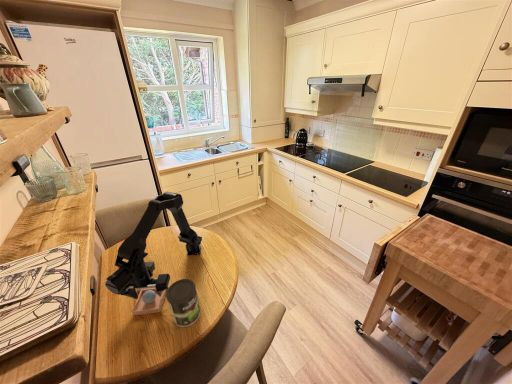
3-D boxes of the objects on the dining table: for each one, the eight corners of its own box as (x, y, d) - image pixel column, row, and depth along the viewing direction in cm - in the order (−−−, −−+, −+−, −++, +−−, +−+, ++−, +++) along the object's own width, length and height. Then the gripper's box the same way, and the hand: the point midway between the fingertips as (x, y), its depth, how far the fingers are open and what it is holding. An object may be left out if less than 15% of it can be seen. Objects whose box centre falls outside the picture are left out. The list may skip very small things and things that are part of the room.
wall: (168, 286, 95) (167, 282, 94) (168, 287, 94) (166, 283, 93) (138, 289, 94) (136, 285, 93) (137, 290, 93) (136, 286, 92)
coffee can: (206, 309, 85) (201, 286, 78) (186, 332, 78) (179, 309, 71) (188, 297, 90) (182, 274, 83) (168, 317, 82) (159, 294, 76)
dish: (166, 289, 93) (165, 286, 92) (160, 312, 84) (158, 308, 83) (142, 292, 92) (141, 289, 91) (133, 315, 84) (131, 311, 83)
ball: (158, 294, 91) (155, 287, 88) (155, 305, 86) (152, 298, 84) (146, 295, 90) (143, 288, 88) (142, 307, 86) (138, 299, 83)
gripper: (169, 252, 87) (176, 278, 95) (121, 257, 86) (133, 282, 93) (162, 274, 78) (170, 301, 85) (108, 280, 76) (122, 306, 83)
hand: (149, 297), depth 87 cm, fingers open, 9 cm apart
